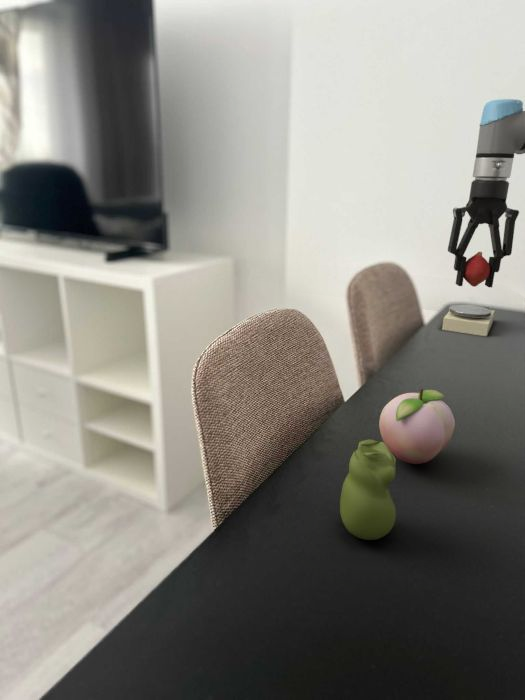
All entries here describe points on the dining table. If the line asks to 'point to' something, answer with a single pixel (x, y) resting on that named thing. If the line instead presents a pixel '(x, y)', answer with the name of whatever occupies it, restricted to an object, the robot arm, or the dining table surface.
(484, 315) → the scale platform
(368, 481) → the pear
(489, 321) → the scale
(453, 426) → the decorative fruit
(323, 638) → the dining table surface
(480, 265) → the onion
